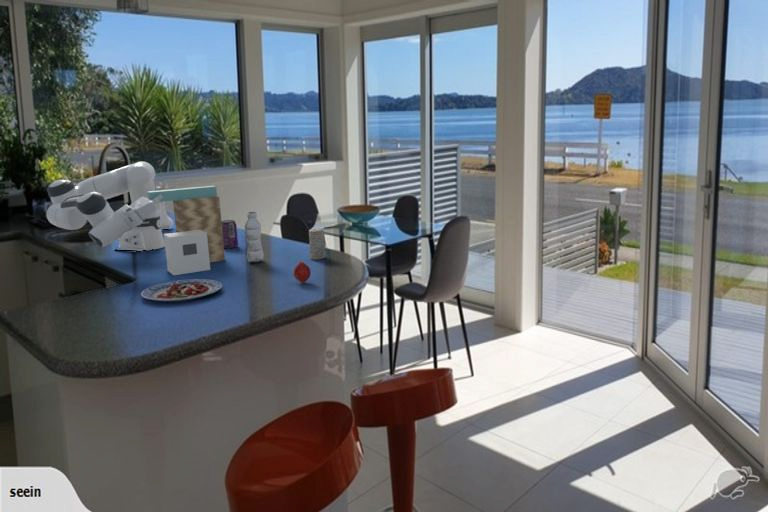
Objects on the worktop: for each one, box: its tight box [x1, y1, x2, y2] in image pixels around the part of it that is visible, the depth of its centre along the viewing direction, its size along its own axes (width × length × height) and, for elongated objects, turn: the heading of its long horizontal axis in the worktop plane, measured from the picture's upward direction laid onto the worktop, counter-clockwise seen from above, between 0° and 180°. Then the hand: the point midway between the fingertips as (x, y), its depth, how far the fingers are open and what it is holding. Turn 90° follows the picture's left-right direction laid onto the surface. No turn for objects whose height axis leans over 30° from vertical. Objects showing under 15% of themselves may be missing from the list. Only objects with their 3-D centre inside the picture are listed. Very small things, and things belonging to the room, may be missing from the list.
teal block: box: [148, 185, 218, 203], centre depth 263 cm, size 26×4×4 cm, turn 120°
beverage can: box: [221, 219, 239, 249], centre depth 297 cm, size 7×7×12 cm
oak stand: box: [172, 195, 226, 263], centre depth 269 cm, size 16×10×26 cm, turn 121°
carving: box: [308, 228, 326, 261], centre depth 266 cm, size 6×8×12 cm
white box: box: [163, 230, 211, 276], centre depth 254 cm, size 14×9×14 cm, turn 121°
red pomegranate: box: [293, 260, 311, 284], centre depth 228 cm, size 6×6×8 cm
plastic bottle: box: [244, 211, 265, 263], centre depth 263 cm, size 6×7×20 cm
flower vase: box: [154, 181, 178, 230], centre depth 351 cm, size 13×18×25 cm
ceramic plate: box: [141, 278, 223, 303], centre depth 220 cm, size 26×26×3 cm
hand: (160, 195), depth 259 cm, fingers closed on teal block, 4 cm apart
